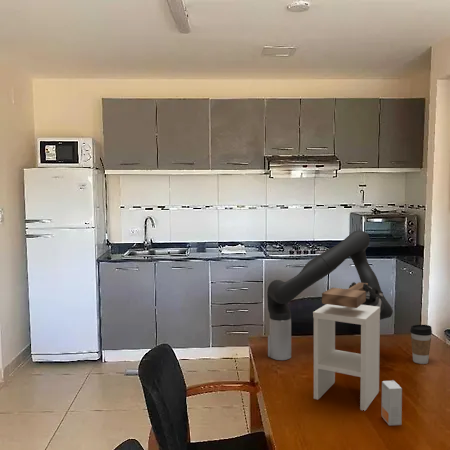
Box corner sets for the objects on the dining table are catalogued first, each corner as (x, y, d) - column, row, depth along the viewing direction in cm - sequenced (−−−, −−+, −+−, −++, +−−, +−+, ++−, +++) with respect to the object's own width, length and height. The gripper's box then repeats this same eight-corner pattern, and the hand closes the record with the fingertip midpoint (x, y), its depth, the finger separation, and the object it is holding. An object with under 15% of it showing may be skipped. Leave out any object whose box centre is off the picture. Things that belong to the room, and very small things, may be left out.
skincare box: (380, 416, 157) (381, 380, 156) (393, 416, 157) (394, 380, 156) (388, 426, 151) (389, 388, 150) (402, 425, 151) (402, 387, 150)
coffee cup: (433, 365, 199) (434, 329, 198) (411, 364, 201) (412, 328, 200) (429, 358, 207) (429, 323, 206) (408, 357, 209) (408, 323, 208)
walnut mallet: (321, 303, 166) (321, 293, 166) (347, 287, 189) (348, 278, 189) (356, 307, 160) (356, 297, 159) (379, 291, 183) (379, 281, 182)
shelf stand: (313, 399, 170) (313, 312, 168) (331, 381, 185) (331, 300, 183) (364, 411, 161) (365, 319, 158) (379, 391, 176) (380, 306, 173)
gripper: (353, 288, 199) (341, 274, 186) (389, 292, 191) (379, 277, 178) (350, 306, 196) (338, 292, 183) (386, 310, 189) (376, 297, 176)
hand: (358, 285), depth 181 cm, fingers closed on walnut mallet, 3 cm apart
